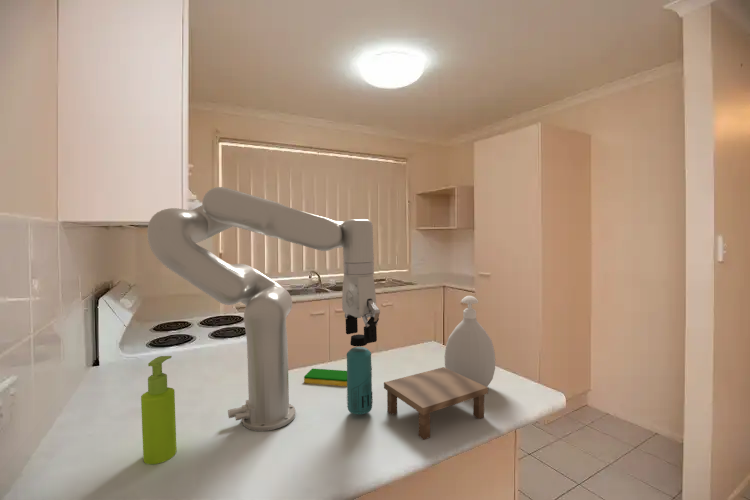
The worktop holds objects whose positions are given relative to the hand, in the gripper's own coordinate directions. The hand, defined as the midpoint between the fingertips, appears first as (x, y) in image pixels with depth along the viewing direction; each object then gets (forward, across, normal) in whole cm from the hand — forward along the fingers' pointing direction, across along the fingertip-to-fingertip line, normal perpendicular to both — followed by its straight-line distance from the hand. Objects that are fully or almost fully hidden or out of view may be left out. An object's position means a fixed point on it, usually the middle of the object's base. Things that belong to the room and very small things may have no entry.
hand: (360, 337), depth 90 cm
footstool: (+20, +10, +15) cm, 27 cm away
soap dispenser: (+19, -7, -44) cm, 48 cm away
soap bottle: (+20, +2, +35) cm, 41 cm away
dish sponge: (+20, -24, +1) cm, 32 cm away
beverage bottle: (+20, 0, -1) cm, 20 cm away
